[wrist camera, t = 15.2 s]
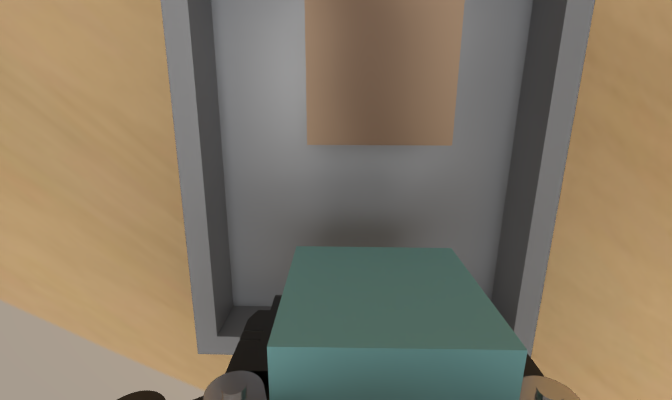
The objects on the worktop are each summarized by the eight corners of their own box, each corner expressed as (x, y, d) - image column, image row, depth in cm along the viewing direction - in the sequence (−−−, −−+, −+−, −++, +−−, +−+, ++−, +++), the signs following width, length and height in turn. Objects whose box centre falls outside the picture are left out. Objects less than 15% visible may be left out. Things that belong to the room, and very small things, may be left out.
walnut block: (429, 17, 16) (466, -18, 11) (421, 132, 17) (452, 145, 13) (315, 17, 16) (304, -17, 11) (316, 132, 18) (307, 144, 13)
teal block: (451, 248, 12) (527, 350, 7) (438, 377, 13) (495, 538, 8) (296, 246, 12) (266, 346, 7) (299, 375, 13) (276, 534, 8)
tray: (553, -41, 16) (608, -77, 13) (500, 318, 21) (530, 360, 18) (191, -43, 16) (152, -79, 13) (221, 313, 21) (198, 353, 18)
